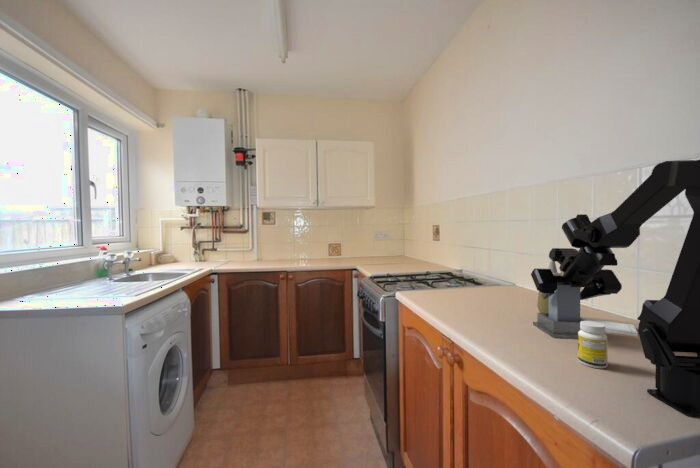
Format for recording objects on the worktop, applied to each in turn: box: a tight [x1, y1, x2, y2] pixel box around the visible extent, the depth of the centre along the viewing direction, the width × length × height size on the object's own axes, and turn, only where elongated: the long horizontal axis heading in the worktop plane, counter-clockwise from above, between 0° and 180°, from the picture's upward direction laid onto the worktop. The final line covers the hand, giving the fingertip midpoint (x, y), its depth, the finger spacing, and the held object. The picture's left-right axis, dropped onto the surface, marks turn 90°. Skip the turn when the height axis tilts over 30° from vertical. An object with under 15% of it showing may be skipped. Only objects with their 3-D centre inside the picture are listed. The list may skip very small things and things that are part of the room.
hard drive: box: [580, 316, 639, 337], centre depth 83 cm, size 2×8×12 cm
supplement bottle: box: [577, 321, 608, 369], centre depth 61 cm, size 5×5×8 cm
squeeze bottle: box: [536, 260, 563, 313], centre depth 91 cm, size 8×8×18 cm
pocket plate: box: [532, 312, 588, 340], centre depth 80 cm, size 10×11×4 cm
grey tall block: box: [549, 285, 581, 322], centre depth 80 cm, size 4×6×13 cm
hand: (561, 298), depth 81 cm, fingers open, 9 cm apart
